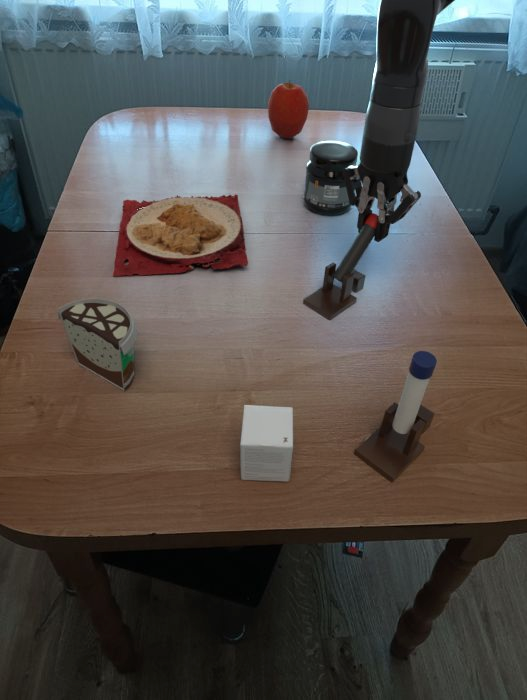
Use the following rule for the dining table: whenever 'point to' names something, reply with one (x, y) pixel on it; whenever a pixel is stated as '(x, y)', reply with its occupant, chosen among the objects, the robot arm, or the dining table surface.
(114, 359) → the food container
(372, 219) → the black marker
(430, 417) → the white marker stand
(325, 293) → the black marker stand
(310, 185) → the supplement container
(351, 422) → the dining table surface
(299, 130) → the apple
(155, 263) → the plate with food
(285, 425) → the product box
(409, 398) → the white marker
